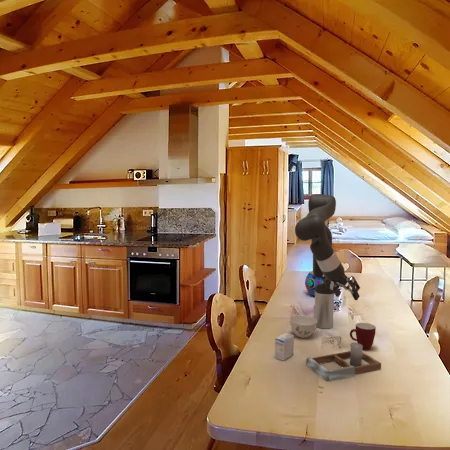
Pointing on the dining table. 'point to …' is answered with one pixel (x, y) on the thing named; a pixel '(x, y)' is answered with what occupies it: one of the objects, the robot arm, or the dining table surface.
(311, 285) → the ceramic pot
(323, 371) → the divider rack
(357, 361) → the grey dome-topped cylinder
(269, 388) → the dining table surface
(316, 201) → the robot arm
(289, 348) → the medicine box
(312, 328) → the teacup
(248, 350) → the dining table surface
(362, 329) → the mug
